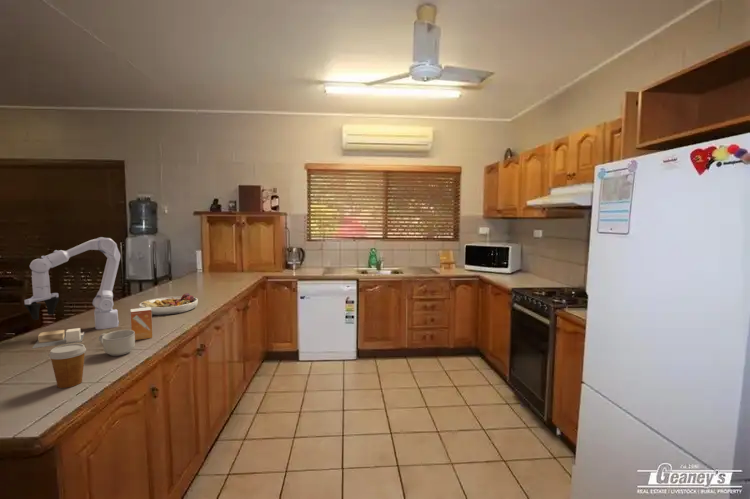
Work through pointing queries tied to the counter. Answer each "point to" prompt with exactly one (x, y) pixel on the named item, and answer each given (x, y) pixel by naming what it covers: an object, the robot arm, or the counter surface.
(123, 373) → the counter surface
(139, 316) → the small box
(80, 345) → the disposable coffee cup
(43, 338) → the oak base brick
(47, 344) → the board
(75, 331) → the cream cube
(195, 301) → the bowl
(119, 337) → the teacup
